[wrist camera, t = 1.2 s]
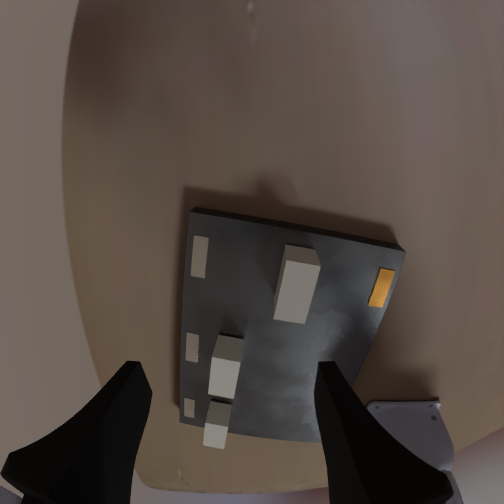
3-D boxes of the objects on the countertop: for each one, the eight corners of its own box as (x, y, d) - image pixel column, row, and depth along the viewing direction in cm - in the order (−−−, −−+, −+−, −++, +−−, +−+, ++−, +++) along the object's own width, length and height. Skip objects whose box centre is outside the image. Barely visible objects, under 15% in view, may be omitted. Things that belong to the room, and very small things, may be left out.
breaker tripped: (315, 249, 20) (320, 266, 17) (302, 302, 21) (304, 324, 19) (285, 244, 20) (286, 260, 17) (274, 298, 21) (273, 319, 19)
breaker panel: (398, 244, 21) (406, 252, 19) (319, 432, 29) (320, 443, 27) (195, 206, 21) (188, 212, 20) (183, 412, 29) (179, 422, 28)
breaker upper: (232, 405, 26) (228, 427, 23) (227, 428, 27) (223, 449, 25) (210, 400, 26) (205, 422, 23) (208, 424, 27) (203, 445, 25)
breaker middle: (244, 339, 23) (240, 362, 20) (237, 375, 24) (233, 398, 22) (218, 334, 23) (211, 356, 20) (214, 371, 24) (208, 394, 22)
